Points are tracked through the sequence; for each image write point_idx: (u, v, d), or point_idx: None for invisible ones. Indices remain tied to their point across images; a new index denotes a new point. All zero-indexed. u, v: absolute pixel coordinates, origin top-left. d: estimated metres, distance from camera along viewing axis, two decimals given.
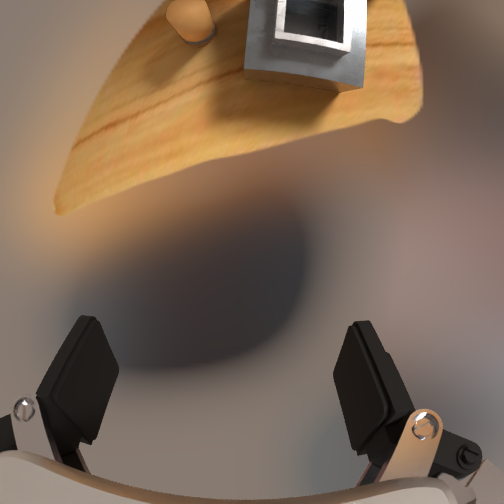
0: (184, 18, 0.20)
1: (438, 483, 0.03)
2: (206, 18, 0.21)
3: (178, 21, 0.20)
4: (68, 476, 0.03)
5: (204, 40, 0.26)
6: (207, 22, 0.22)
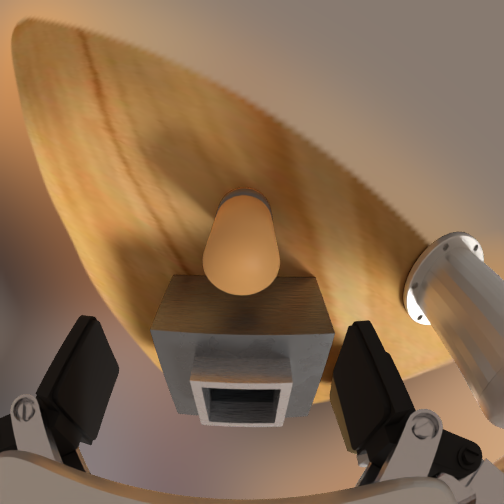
0: (221, 262, 0.16)
1: (438, 483, 0.03)
2: None
3: (215, 252, 0.15)
4: (68, 476, 0.03)
5: None
6: None
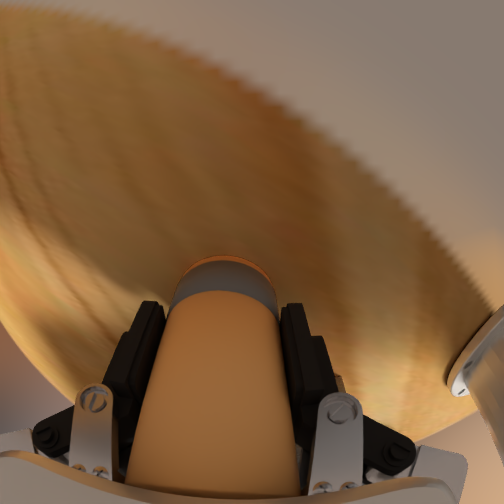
0: None
1: (438, 483, 0.03)
2: None
3: None
4: (68, 476, 0.03)
5: None
6: None
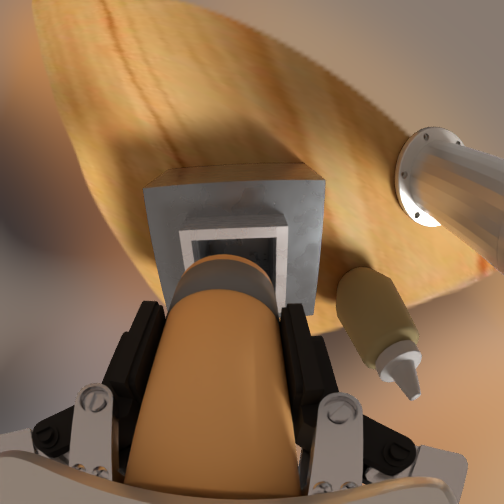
0: None
1: (438, 483, 0.03)
2: None
3: None
4: (68, 476, 0.03)
5: None
6: None
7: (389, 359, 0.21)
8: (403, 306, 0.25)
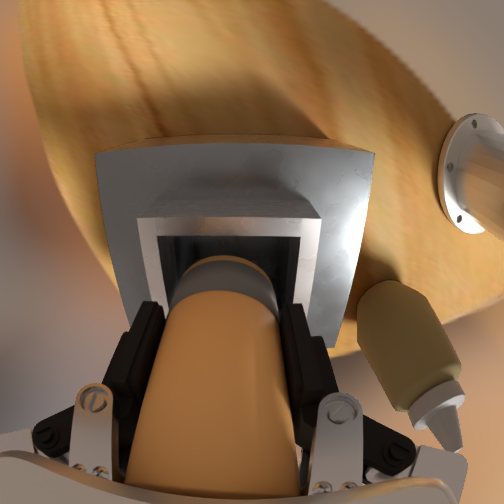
0: None
1: (438, 483, 0.03)
2: None
3: None
4: (68, 476, 0.03)
5: None
6: None
7: (430, 407, 0.13)
8: (445, 334, 0.17)
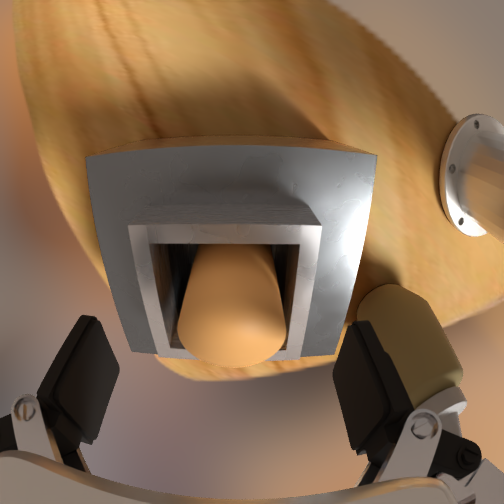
0: (204, 334, 0.11)
1: (438, 483, 0.03)
2: None
3: (194, 323, 0.10)
4: (68, 476, 0.03)
5: None
6: None
7: None
8: (446, 339, 0.17)
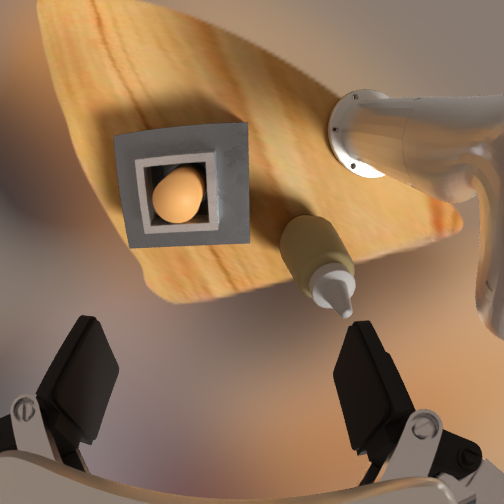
0: (164, 200, 0.24)
1: (438, 483, 0.03)
2: None
3: (159, 194, 0.23)
4: (68, 476, 0.03)
5: None
6: None
7: (318, 277, 0.26)
8: (337, 239, 0.30)
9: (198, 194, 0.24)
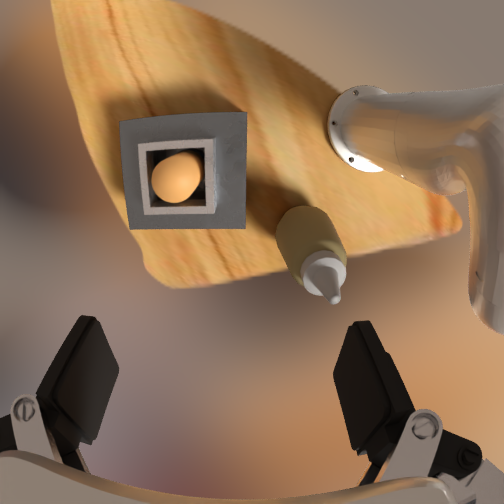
0: (162, 180, 0.24)
1: (438, 483, 0.03)
2: None
3: (158, 173, 0.24)
4: (68, 476, 0.03)
5: None
6: None
7: (309, 264, 0.27)
8: (331, 228, 0.31)
9: (194, 176, 0.24)
